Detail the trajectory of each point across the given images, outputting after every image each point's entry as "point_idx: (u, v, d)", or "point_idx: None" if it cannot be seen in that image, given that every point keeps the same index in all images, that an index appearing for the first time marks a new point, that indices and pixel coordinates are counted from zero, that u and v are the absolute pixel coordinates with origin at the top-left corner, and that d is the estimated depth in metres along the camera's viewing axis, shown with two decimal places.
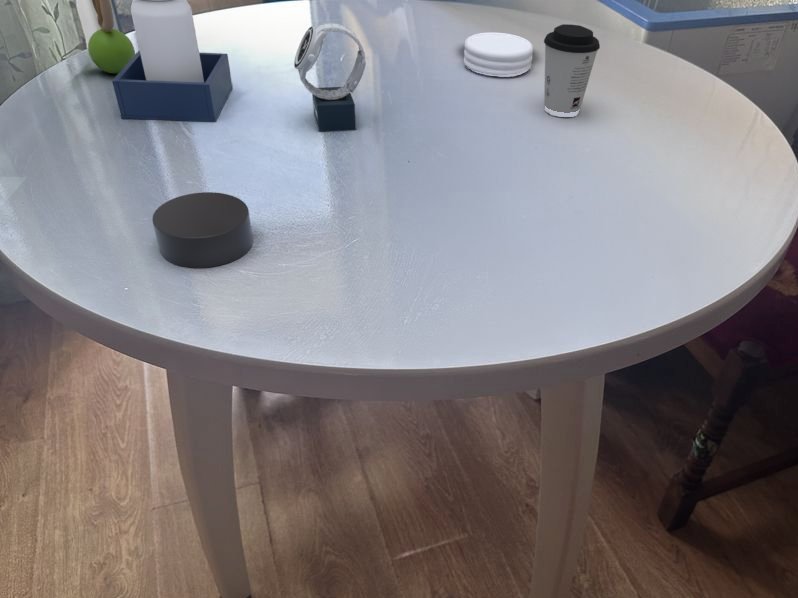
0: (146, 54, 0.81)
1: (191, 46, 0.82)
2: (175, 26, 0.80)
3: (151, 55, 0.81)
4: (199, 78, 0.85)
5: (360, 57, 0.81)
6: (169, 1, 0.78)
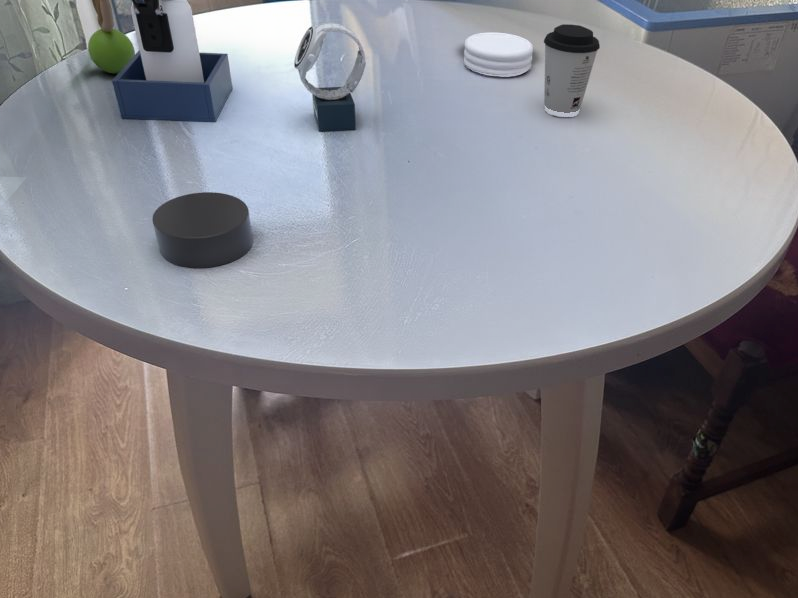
0: (146, 54, 0.81)
1: (191, 46, 0.82)
2: (175, 26, 0.80)
3: (151, 55, 0.81)
4: (199, 78, 0.85)
5: (360, 57, 0.81)
6: (169, 0, 0.78)
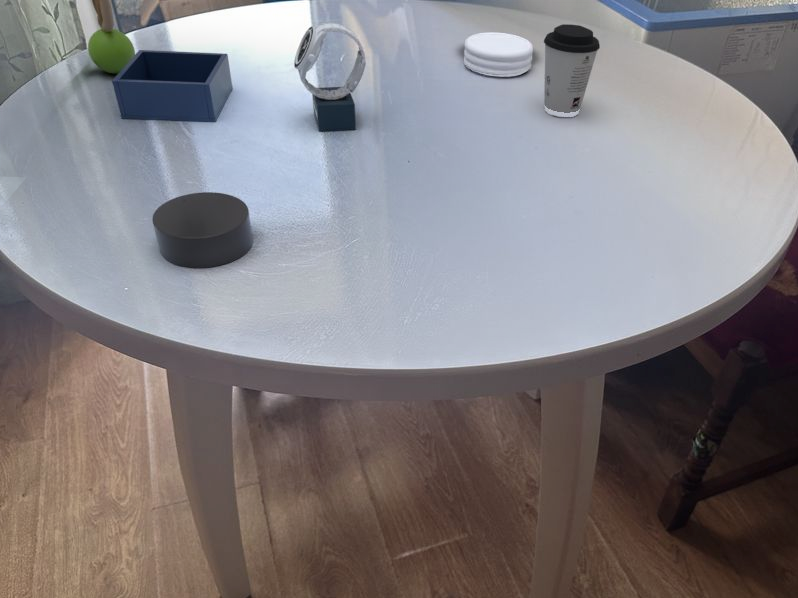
0: None
1: None
2: None
3: None
4: None
5: (360, 57, 0.81)
6: None
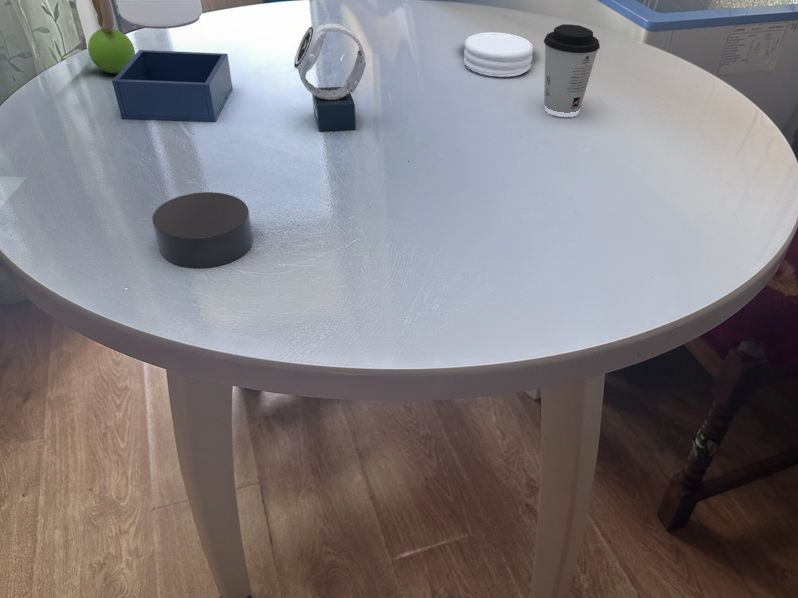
0: None
1: None
2: None
3: None
4: None
5: (360, 57, 0.81)
6: None
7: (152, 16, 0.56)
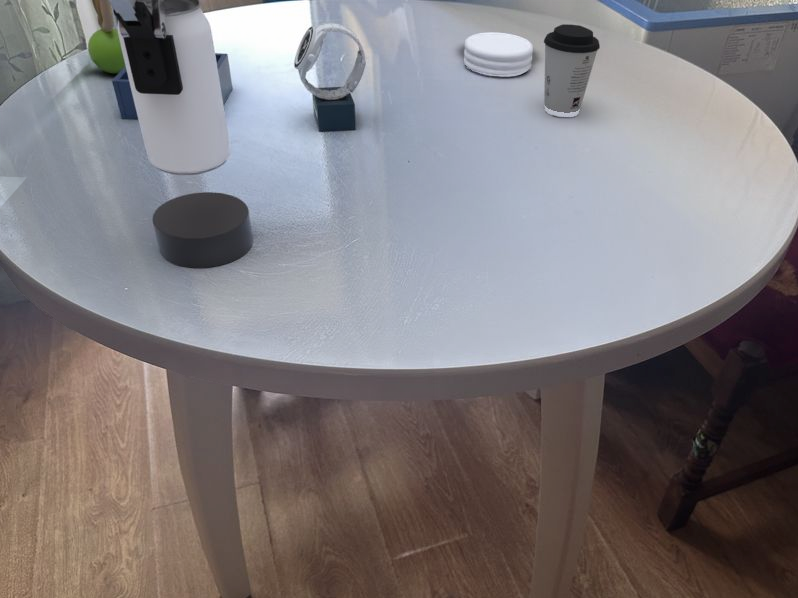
0: (142, 96, 0.53)
1: (210, 83, 0.54)
2: (186, 54, 0.51)
3: (149, 98, 0.53)
4: (221, 130, 0.57)
5: (360, 57, 0.81)
6: (177, 15, 0.50)
7: (181, 165, 0.56)
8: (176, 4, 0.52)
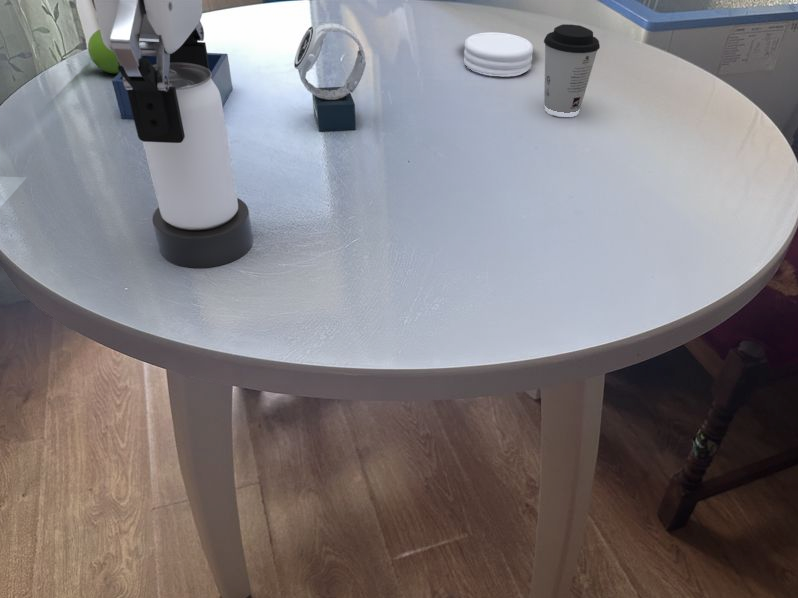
0: (156, 160, 0.56)
1: (220, 147, 0.57)
2: (198, 123, 0.54)
3: (162, 162, 0.56)
4: (230, 188, 0.60)
5: (360, 57, 0.81)
6: (190, 88, 0.53)
7: (192, 222, 0.59)
8: (188, 74, 0.56)
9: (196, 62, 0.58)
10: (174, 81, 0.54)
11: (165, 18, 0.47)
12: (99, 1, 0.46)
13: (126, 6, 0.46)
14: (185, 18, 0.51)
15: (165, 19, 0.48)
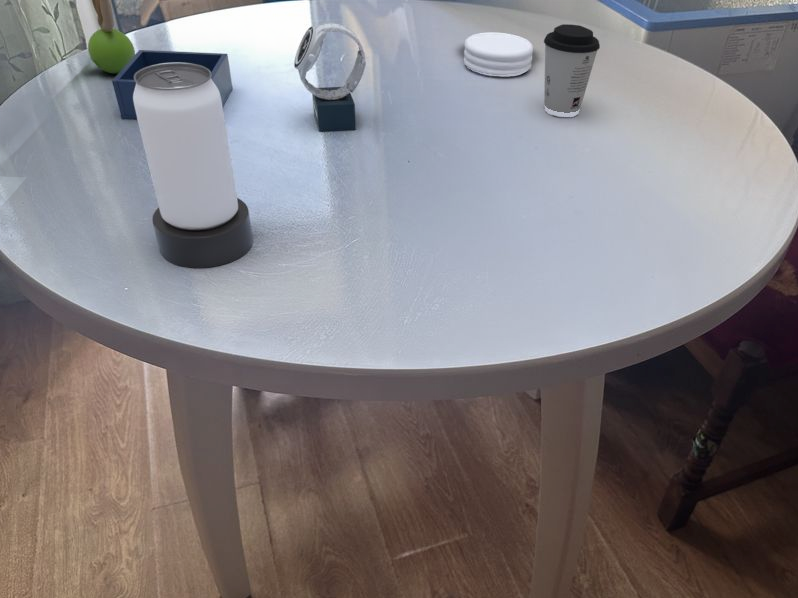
0: (156, 160, 0.56)
1: (220, 147, 0.57)
2: (198, 123, 0.54)
3: (162, 162, 0.56)
4: (230, 188, 0.60)
5: (360, 57, 0.81)
6: (190, 88, 0.53)
7: (192, 222, 0.59)
8: (188, 74, 0.56)
9: None
10: (174, 81, 0.54)
11: None
12: None
13: None
14: None
15: None
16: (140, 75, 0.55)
